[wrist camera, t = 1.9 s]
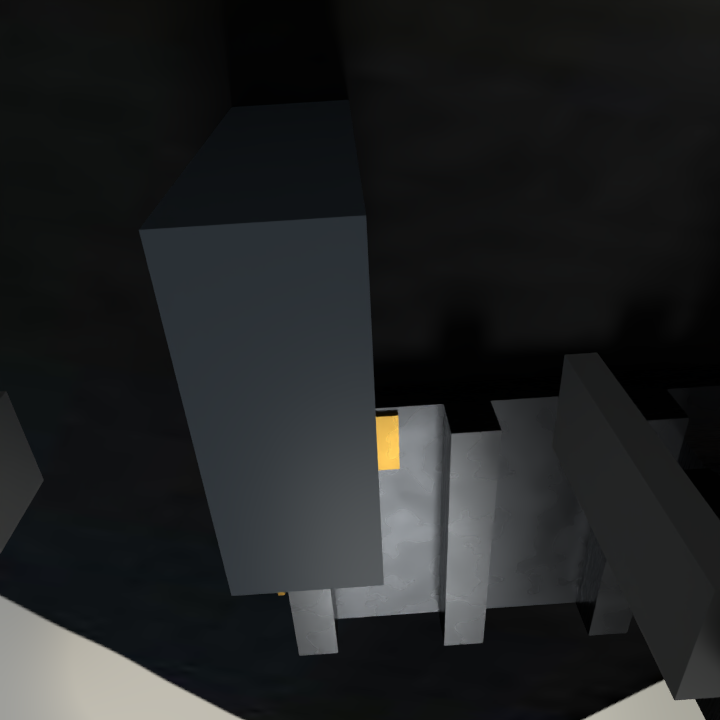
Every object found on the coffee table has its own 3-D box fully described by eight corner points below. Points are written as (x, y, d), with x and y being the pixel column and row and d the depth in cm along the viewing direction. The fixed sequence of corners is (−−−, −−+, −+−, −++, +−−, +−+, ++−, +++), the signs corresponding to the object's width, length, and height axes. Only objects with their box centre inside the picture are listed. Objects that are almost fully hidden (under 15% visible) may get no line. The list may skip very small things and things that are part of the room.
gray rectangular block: (231, 106, 21) (139, 229, 11) (348, 99, 21) (366, 215, 11) (269, 356, 26) (231, 595, 16) (363, 349, 26) (383, 585, 16)
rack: (257, 396, 27) (205, 699, 16) (823, 358, 27) (1174, 631, 16) (292, 598, 35) (273, 903, 23) (737, 567, 35) (936, 855, 23)
